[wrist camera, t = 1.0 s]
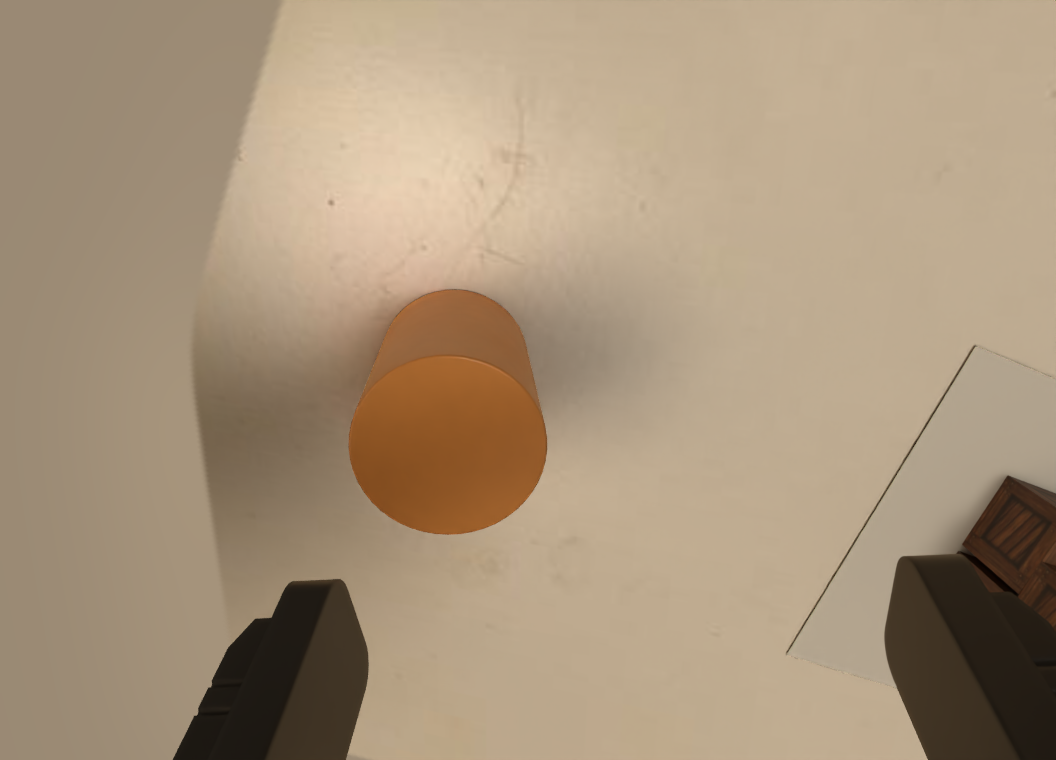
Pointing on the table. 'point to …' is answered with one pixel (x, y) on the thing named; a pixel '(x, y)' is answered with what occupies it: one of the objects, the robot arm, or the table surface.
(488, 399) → the orange cylinder
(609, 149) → the table surface
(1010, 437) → the flat board
